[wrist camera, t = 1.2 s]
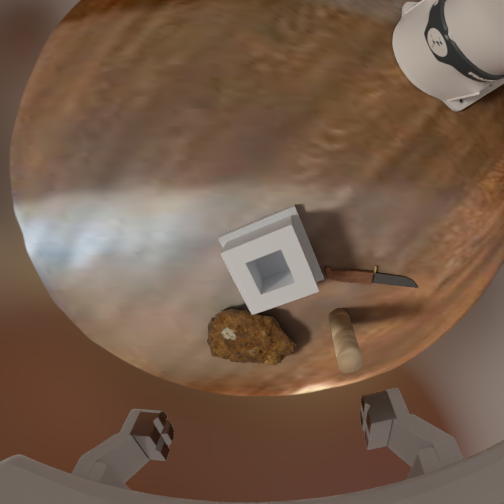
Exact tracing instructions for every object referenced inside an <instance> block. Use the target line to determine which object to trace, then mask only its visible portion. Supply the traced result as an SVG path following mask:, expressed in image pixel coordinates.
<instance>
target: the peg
mask: <svg viewBox="0 0 504 504" xmlns="http://www.w3.org/2000/svg"><path fill="white" fill-rule="evenodd" d="M329 322H330V327H331V332H332V337H333V342H334V347H335V352H336V357H337V362H338V367H339V369H340V371H342V372H344V373H353V372H355V371H357V370H359V369H360V368H361V366H362V364H363V359H362V356H361V352H360V349H359V346H358V342H357V339H356V336H355V333H354V329H353V326H352V323H351V320H350V317H349V314H348V312H347V311H346V310H345V309H342V308H338V309H335V310H333V311H332V312H331V313H330V315H329Z"/></svg>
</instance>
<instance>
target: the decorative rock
mask: <svg viewBox="0 0 504 504" xmlns="http://www.w3.org/2000/svg"><path fill="white" fill-rule="evenodd" d="M207 342H208V344H209V346H210V349H211V354H212V356H216V357H221V358H223V359H230V361H231V362H241V363H247V362H250V363H258V364H259V363H266V364H267V365H277V364H278V363H281V361H282V360H283V359H284V357H286V356H288V355H290V354H291V353H293V351H294V348H295V347H296V346H297V345H296V343H294V342H293V341H292V339H290V338H289V337H288V336H287V335H286V334H285V332H284V331H283V330H282V329H281V328H280V325H279V323H278V322H277V321H276V320H275V318H274V317H270V316H265V315H259V314H253V315H252V314H251V312H248V311H246V310H236V309H232V308H231V309H229V310H228V309H226V308H225V309H224V310H221V313H218V314H216V315H215V318H212V319H211V320H210V322H209V325H208V340H207Z"/></svg>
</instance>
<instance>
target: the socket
mask: <svg viewBox="0 0 504 504" xmlns="http://www.w3.org/2000/svg"><path fill="white" fill-rule="evenodd" d="M218 239H219V241H220V243H221V245H222V247H223V249H222V251H221V253H220V254H221V256H222V258H223V260H224V262H225V264H226V266H227V268H228V270H229V272H230V274H231V276H232V278H233V280H234V282H235V284H236V286H237V287H238V289H239V291H240V293H241V295H242V297H243V299H244V301H245V303H246V305H247V307H248V309H249V311H250V312H251V314H252V315H253V314H256V313H259V312H262V311H265V310H268V309H271V308H274V307H277V306H280V305H283V304H286V303H288V302H291V301H294V300H297V299H300V298H302V297H305V296H308V295H311V294H313V293H316V292H319V288H318V283H317V282H318V281H321V280H324V276H323V274H322V271H321V268H320V266H319V263H318V261H317V258H316V256H315V253H314V251H313V248H312V246H311V243H310V241H309V238H308V236H307V234H306V231H305V229H304V226H303V224H302V221H301V219H300V217H299V214H298V212H297V210H296V207H295V205H293V206H290V207H288V208H285V209H283V210H280V211H278V212H275V213H273V214H271V215H268V216H266V217H263V218H261V219H259V220H256V221H254V222H251V223H249V224H247V225H244V226H242V227H239V228H237V229H235V230H232V231H230V232H228V233H225V234H223V235H221V236H219V237H218Z"/></svg>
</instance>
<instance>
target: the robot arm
mask: <svg viewBox="0 0 504 504" xmlns="http://www.w3.org/2000/svg"><path fill="white" fill-rule="evenodd" d="M393 50H394V54H395V57H396V60H397V62H398V64H399V66H400V68H401V69H402V71H403V72H404V74H405V75H406V76H407V78H408V79H409V80H410V81H411V82H412V83H413V84H414V85H415V86H416V87H418V88H419V89H420V90H422V91H423V92H425V93H427V94H429V95H431V96H433V97H436V98H438V99H440V100H442V101H443V102H444V103H445V104H446V105H447V106H448V107H449V108H450V109H451V110H453V111H455V112H458V111H461V110H463V109H464V108H466V107H467V106H469V105H471V104H472V103H474V102H475V101H477V100H479V99H480V98H482V97H483V96H485V95H487V94H488V93H490V92H491V91H493V90H494V89H496V88H498V87H499V86H501V85H502V84H504V0H422V1H421V2H419V3H418V2H407V3H405V4H404V5H403V7H402V18H401V20H400V21H399V23H398V24H397V26H396V28H395V30H394V33H393ZM460 99H461V101H462V103H461V102H460ZM361 405H362V408H361V409H360V421H361V426H362V430H364V431H365V436H364V438H365V442H366V447H367V450H370V449H375V448H380V447H384V446H387V447H388V448H390V449H391V450H392V451H393V452H394V453H395V454H396V455H398V456H399V457H400V458H401V459H402V460H404V461H405V462H406V463H407V464H408V465H410V466H411V467H412V469H411V471H410V474H409V476H408V478H407V480H404V481H400V482H396V483H393V484H389V485H385V486H381V487H377V488H372V489H368V490H364V491H358V492H353V493H348V494H342V495H336V496H329V497H322V498H314V499H305V500H294V501H279V502H216V501H201V500H190V499H181V498H173V497H166V496H159V495H153V494H147V493H142V492H137V491H132V490H130V489H129V488H128V487H127V486H126V485H125V484H124V483H125V482H126V481H127V480H129V479H130V478H131V477H132V476H133V475H134V474H135V473H136V472H137V471H138V470H139V469H140V468H142V467H143V465H145V464H146V463H147V462H148V461H149V459H151V460H162V461H166V460H167V457H168V454H169V451H170V449H169V447H168V445H169V444H171V443H172V442H173V438H174V429H173V426H172V424H171V423H170V422H169V421H167V420H166V419H167V415H166V413H165V412H164V411H154V410H141V409H133V410H131V411H130V413H129V415H128V417H127V419H126V421H125V423H124V425H123V427H122V429H121V431H120V433H119V434H118V433H117V434H115V435H113V436H112V437H110V438H109V439H107V440H106V441H104V442H103V443H101V444H100V445H98V446H96V447H95V448H94V449H92V450H90V451H89V452H87V453H85V454H84V455H82V456H81V458H80V459H79V461H78V463H77V465H76V467H75V469H74V470H73V472H72V474H69V473H67V472H64V471H61V470H58V469H55V468H53V467H50V466H48V465H45V464H42V463H40V462H38V461H35V460H33V459H31V458H28V457H26V456H24V455H20V454H19V455H15V456H12V457H9V458H7V459H5V460H3V461H1V462H0V504H504V440H503V441H501V442H499V443H497V444H495V445H493V446H491V447H489V448H487V449H485V450H483V451H481V452H479V453H477V454H474V455H472V456H470V457H468V458H465V459H464V458H463V456H462V454H461V452H460V449H459V447H458V445H457V443H456V441H455V439H454V437H452V436H451V435H449V434H447V433H445V432H443V431H442V430H440V429H438V428H436V427H435V426H433V425H431V424H429V423H428V422H426V421H424V420H422V419H421V418H419V417H417V416H415V415H414V414H411V415H410V414H409V412H408V409H407V407H406V405H405V402H404V400H403V398H402V395H401V393H400V391H399V389H398V388H393V389H389V390H385V391H380V392H376V393H371V394H367V395H362V397H361Z"/></svg>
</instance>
